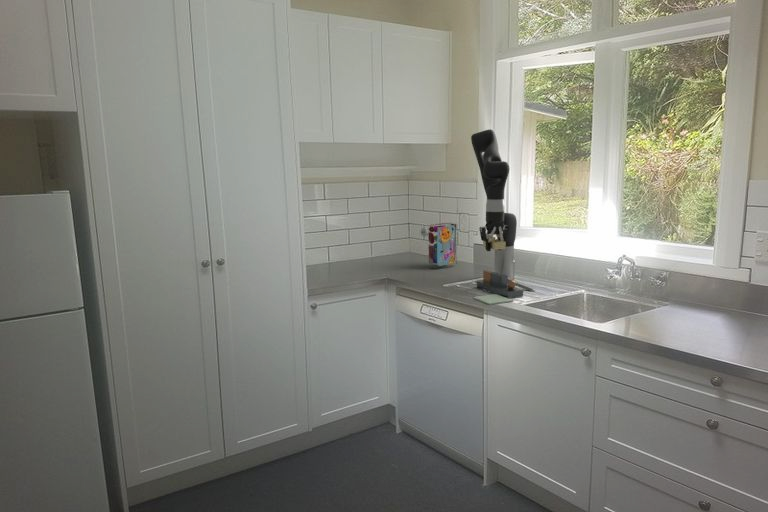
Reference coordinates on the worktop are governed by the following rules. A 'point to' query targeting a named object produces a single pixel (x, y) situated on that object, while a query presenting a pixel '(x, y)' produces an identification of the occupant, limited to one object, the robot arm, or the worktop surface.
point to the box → (441, 244)
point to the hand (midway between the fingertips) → (493, 250)
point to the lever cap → (496, 244)
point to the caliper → (522, 286)
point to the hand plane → (499, 285)
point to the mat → (493, 299)
